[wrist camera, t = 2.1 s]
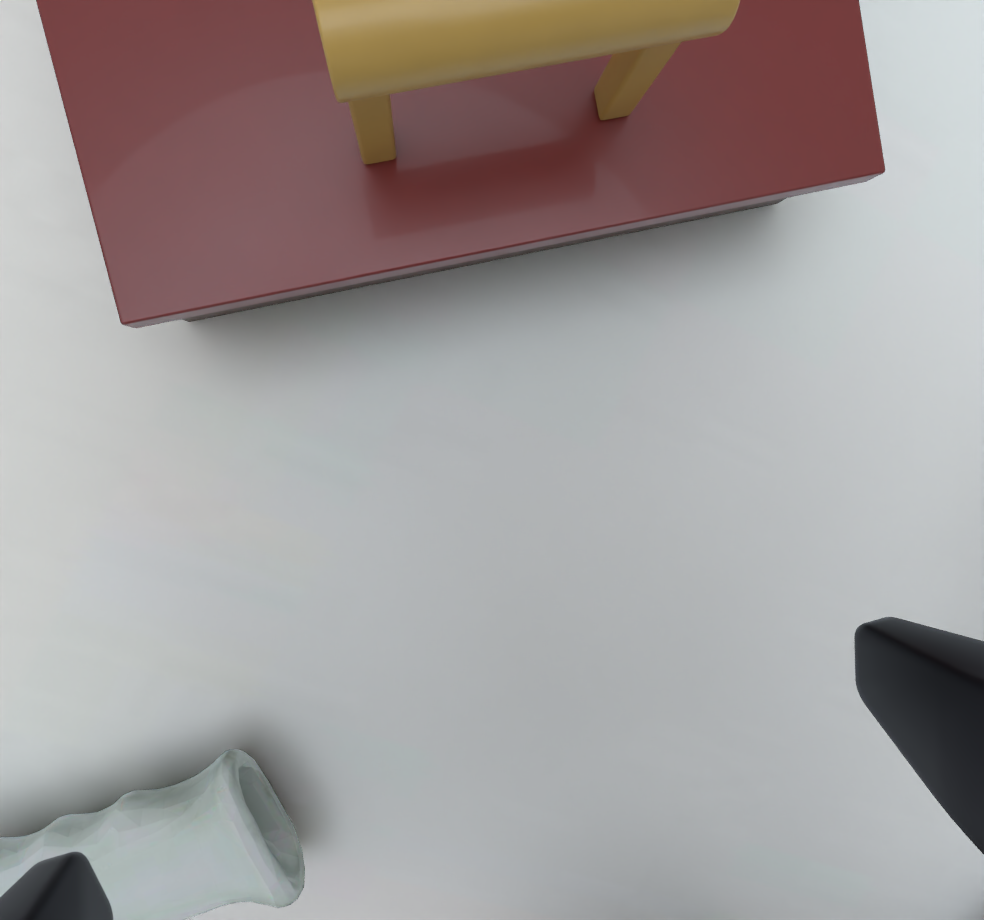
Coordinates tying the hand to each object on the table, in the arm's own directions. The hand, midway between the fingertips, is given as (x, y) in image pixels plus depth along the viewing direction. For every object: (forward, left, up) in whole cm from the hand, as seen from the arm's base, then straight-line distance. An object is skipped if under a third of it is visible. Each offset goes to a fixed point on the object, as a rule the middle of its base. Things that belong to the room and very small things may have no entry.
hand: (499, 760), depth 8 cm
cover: (+5, -12, -8) cm, 16 cm away
